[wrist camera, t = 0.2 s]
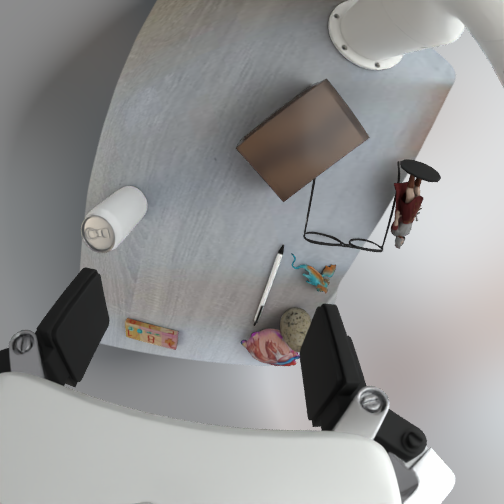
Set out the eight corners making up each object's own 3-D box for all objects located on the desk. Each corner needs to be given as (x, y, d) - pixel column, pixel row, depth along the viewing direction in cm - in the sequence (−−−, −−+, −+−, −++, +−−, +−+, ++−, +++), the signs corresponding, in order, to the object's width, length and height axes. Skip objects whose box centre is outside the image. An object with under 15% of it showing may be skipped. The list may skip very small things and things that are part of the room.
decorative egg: (272, 312, 53) (275, 351, 45) (295, 295, 51) (301, 333, 42) (292, 327, 55) (297, 364, 47) (314, 311, 53) (323, 348, 44)
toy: (176, 337, 55) (175, 351, 57) (178, 330, 57) (177, 345, 59) (124, 323, 54) (125, 338, 56) (126, 317, 55) (128, 332, 58)
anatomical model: (236, 325, 58) (267, 367, 62) (228, 343, 53) (263, 386, 57) (281, 312, 53) (309, 358, 58) (277, 331, 48) (307, 378, 53)
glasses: (299, 231, 45) (304, 242, 40) (314, 141, 39) (322, 141, 34) (375, 242, 45) (387, 253, 41) (393, 160, 40) (408, 164, 35)
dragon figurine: (280, 290, 50) (320, 306, 48) (283, 267, 44) (330, 285, 42) (292, 264, 54) (331, 278, 51) (297, 239, 48) (340, 255, 46)
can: (111, 187, 41) (73, 214, 31) (145, 183, 41) (111, 210, 30) (119, 222, 44) (86, 256, 34) (151, 219, 44) (123, 255, 34)
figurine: (448, 177, 31) (419, 252, 42) (413, 156, 36) (393, 229, 47) (425, 183, 30) (396, 264, 40) (388, 159, 35) (369, 238, 45)
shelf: (239, 141, 38) (235, 148, 31) (313, 84, 33) (326, 78, 26) (278, 185, 41) (283, 202, 34) (349, 131, 36) (369, 137, 30)
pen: (252, 323, 55) (252, 327, 54) (280, 242, 46) (281, 245, 45) (256, 324, 55) (256, 328, 54) (285, 243, 46) (286, 246, 45)
